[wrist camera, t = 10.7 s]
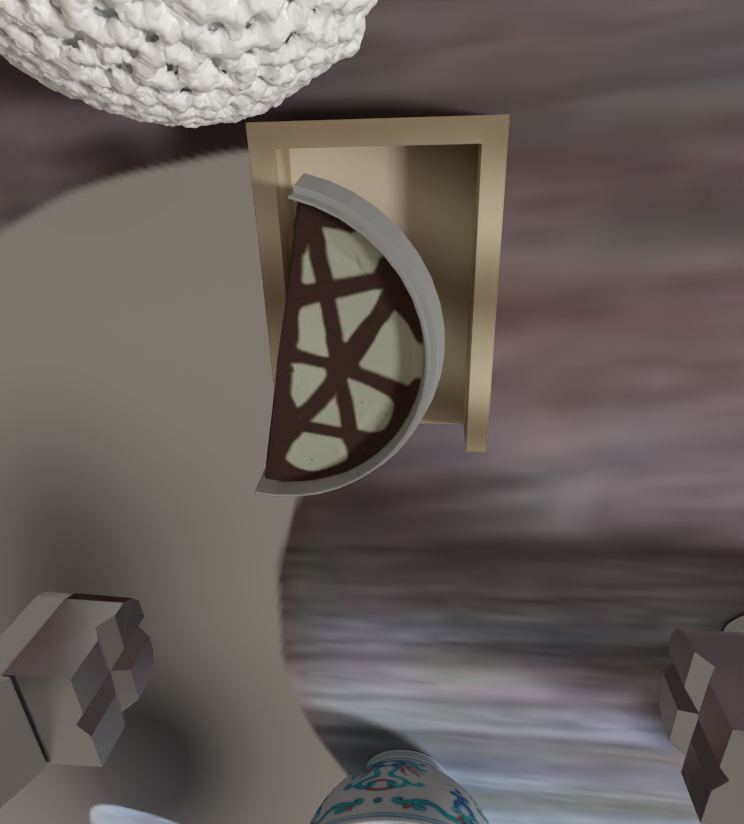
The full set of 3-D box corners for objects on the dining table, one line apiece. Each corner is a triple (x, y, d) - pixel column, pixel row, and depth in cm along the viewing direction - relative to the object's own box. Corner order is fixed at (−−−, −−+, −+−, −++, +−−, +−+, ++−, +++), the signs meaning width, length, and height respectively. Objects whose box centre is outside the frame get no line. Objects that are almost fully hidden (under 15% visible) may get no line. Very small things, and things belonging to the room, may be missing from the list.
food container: (413, 423, 32) (404, 537, 23) (304, 400, 32) (252, 504, 23) (471, 189, 26) (488, 218, 18) (339, 161, 27) (289, 177, 18)
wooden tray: (480, 415, 33) (486, 452, 29) (297, 411, 34) (280, 446, 30) (499, 116, 26) (509, 114, 22) (271, 123, 27) (245, 122, 23)
